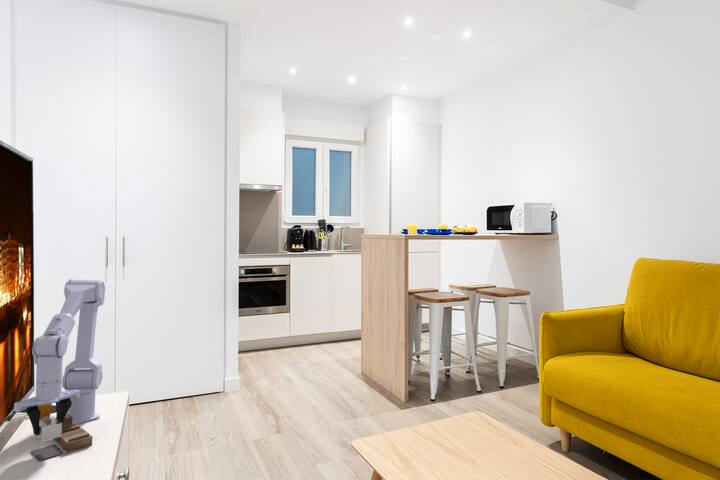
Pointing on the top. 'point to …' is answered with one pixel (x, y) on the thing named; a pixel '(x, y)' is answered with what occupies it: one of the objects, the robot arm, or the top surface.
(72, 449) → the body
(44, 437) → the lever cap
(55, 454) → the rubber mat
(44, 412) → the carrot
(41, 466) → the top surface
